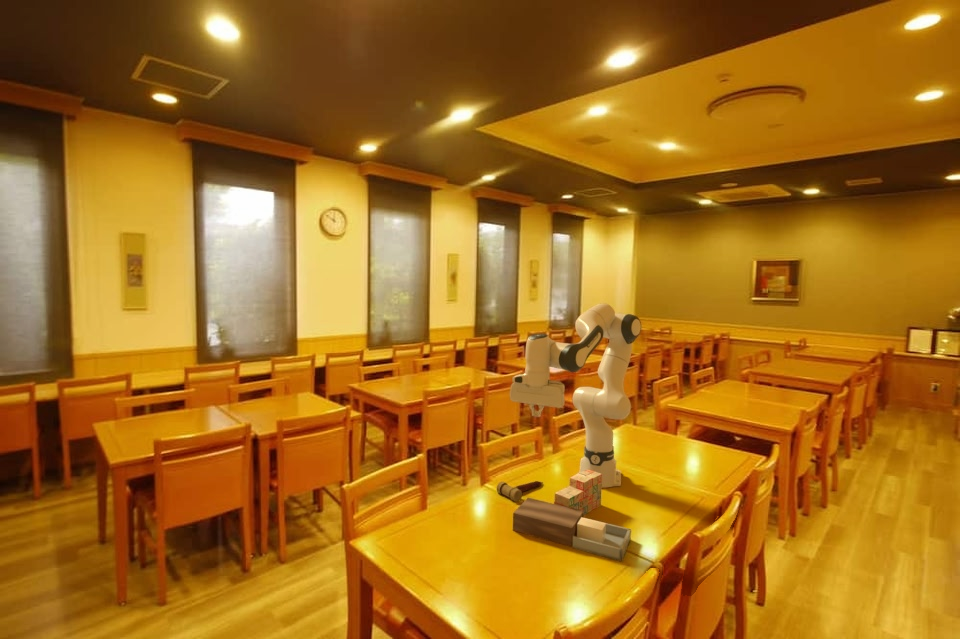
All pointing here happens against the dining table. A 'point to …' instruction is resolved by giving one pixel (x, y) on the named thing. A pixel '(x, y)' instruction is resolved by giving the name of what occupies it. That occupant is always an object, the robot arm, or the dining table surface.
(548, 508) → the dark brown brick
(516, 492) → the gavel
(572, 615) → the dining table surface
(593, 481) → the stack of blocks
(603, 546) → the box
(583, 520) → the tile block
